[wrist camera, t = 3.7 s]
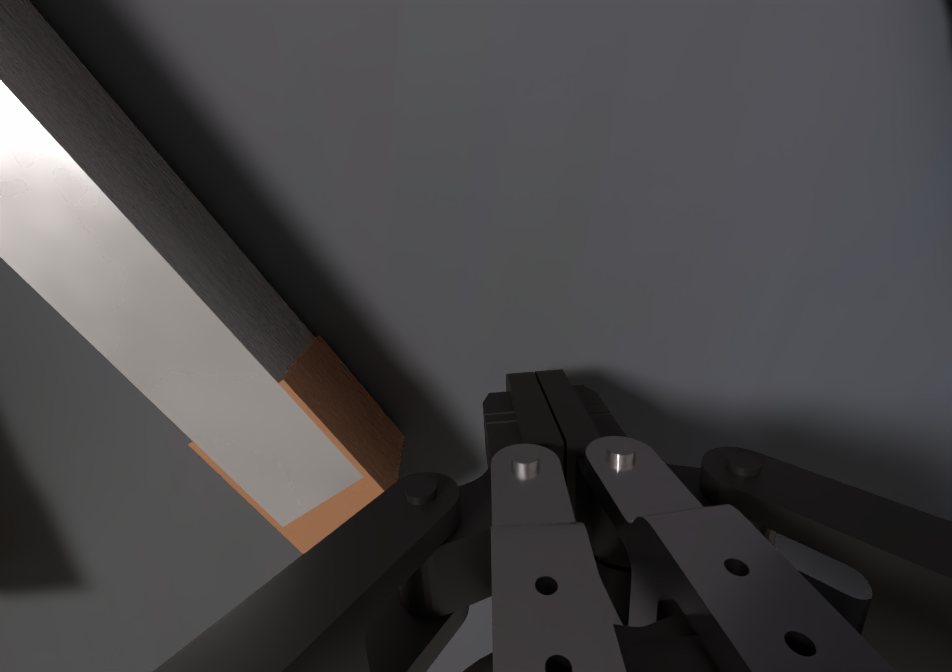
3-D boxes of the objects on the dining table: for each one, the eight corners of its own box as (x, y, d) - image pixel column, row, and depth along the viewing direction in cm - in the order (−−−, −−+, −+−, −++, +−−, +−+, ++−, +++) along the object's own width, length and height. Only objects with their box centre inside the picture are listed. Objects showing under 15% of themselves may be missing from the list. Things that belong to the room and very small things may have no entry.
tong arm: (-317, -202, 9) (-676, -378, 6) (-224, -310, 8) (-563, -552, 6) (332, 481, 15) (305, 556, 12) (405, 436, 14) (394, 501, 11)
